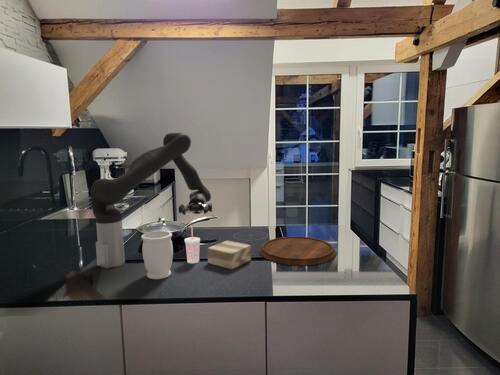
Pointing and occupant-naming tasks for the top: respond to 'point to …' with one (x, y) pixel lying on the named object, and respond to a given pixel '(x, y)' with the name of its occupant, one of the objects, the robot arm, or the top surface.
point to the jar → (157, 253)
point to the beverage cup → (192, 248)
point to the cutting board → (297, 251)
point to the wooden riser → (229, 254)
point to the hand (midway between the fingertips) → (194, 212)
